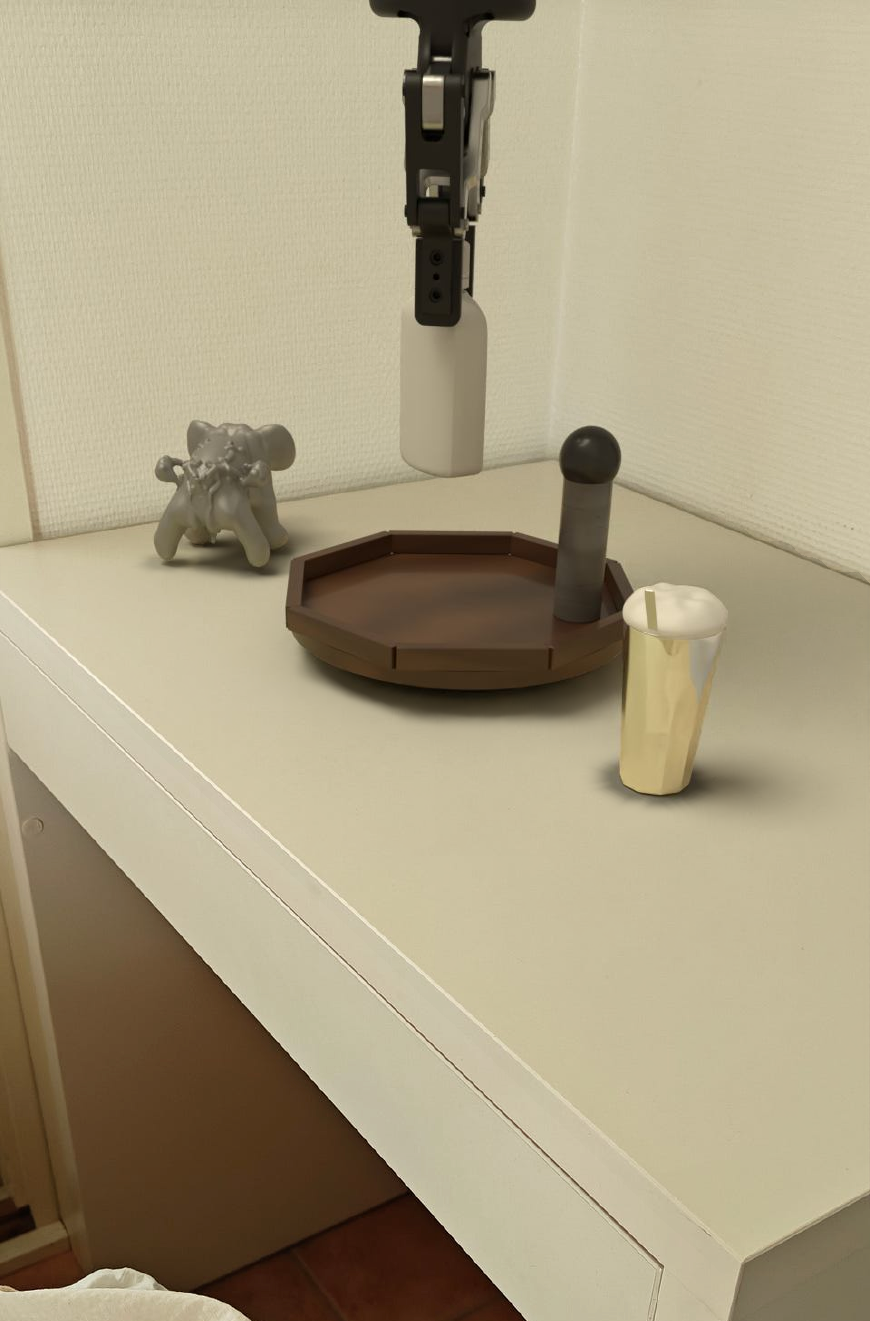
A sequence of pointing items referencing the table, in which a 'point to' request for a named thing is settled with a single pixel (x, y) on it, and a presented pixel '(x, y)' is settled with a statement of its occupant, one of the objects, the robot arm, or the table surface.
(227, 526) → the gray elephant figurine
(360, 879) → the table surface
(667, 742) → the milkshake
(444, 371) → the eye dropper bottle
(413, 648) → the tray
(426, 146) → the robot arm
